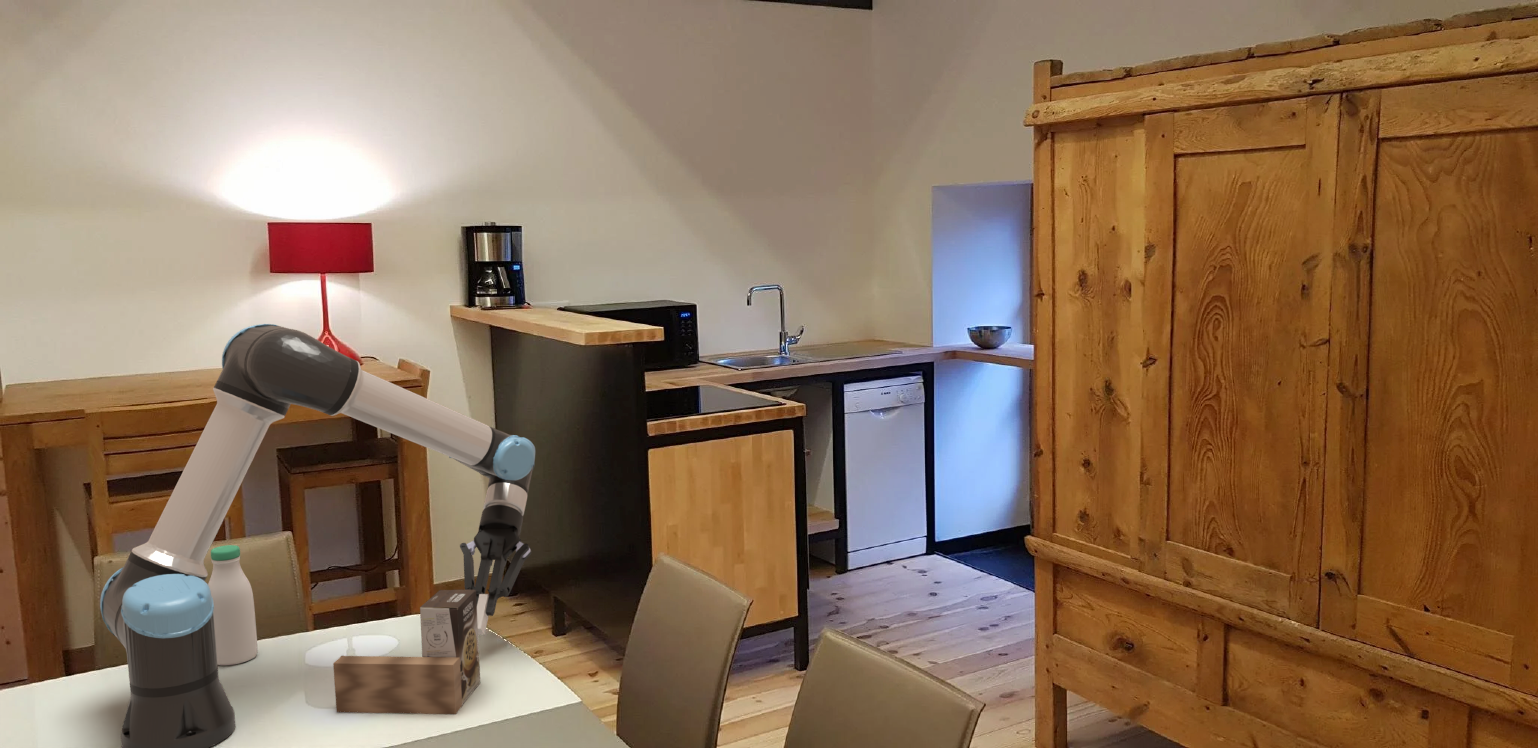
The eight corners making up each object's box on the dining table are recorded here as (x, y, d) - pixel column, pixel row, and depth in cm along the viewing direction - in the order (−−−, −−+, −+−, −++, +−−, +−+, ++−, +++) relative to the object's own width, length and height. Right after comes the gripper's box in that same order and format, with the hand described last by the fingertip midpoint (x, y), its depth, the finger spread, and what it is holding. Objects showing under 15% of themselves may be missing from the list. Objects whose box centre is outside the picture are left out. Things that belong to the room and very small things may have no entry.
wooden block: (336, 712, 177) (333, 663, 176) (344, 704, 180) (341, 656, 179) (455, 714, 176) (453, 665, 175) (462, 705, 179) (459, 657, 178)
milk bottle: (267, 655, 201) (258, 545, 198) (226, 670, 195) (217, 557, 192) (241, 646, 205) (232, 539, 202) (200, 661, 199) (190, 550, 196)
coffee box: (463, 706, 179) (457, 607, 177) (423, 705, 180) (417, 607, 177) (482, 682, 188) (477, 588, 186) (444, 681, 189) (439, 587, 186)
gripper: (542, 523, 213) (520, 641, 199) (473, 523, 214) (447, 640, 200) (533, 503, 207) (510, 623, 193) (463, 502, 208) (435, 621, 194)
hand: (478, 631), depth 196 cm, fingers closed
